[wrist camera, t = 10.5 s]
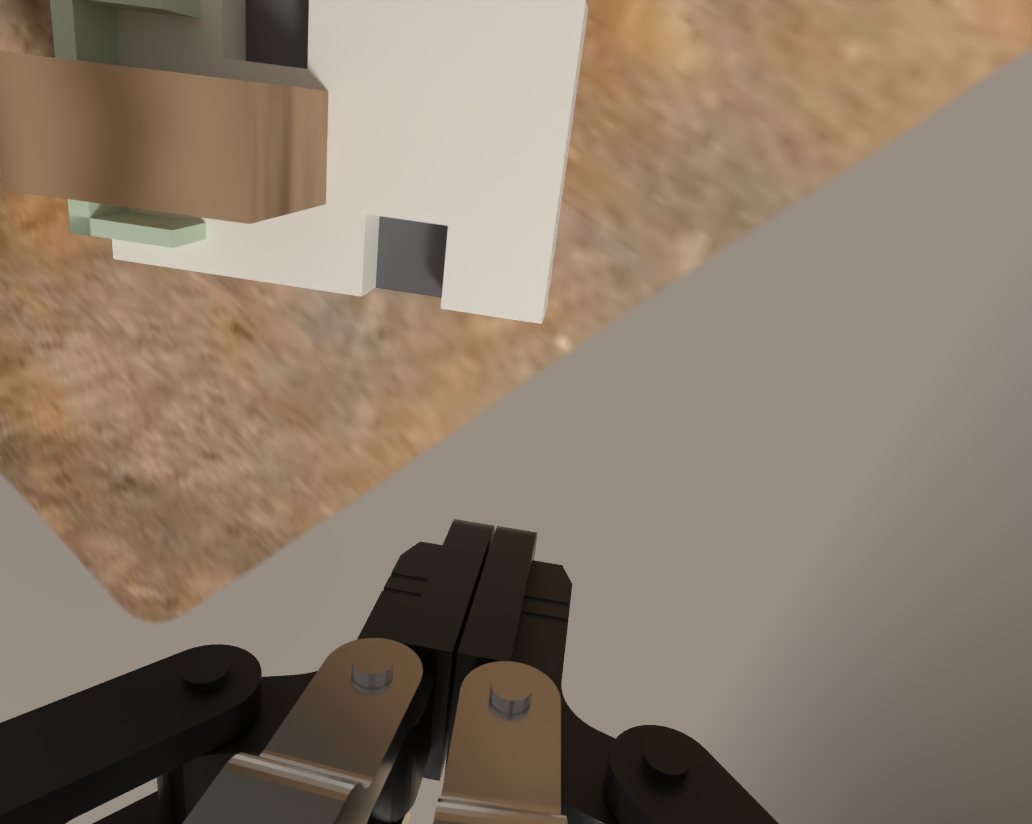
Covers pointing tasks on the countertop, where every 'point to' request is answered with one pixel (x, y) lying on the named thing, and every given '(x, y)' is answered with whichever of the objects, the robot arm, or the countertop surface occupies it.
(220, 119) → the walnut block
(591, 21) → the countertop surface
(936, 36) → the countertop surface
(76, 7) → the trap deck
